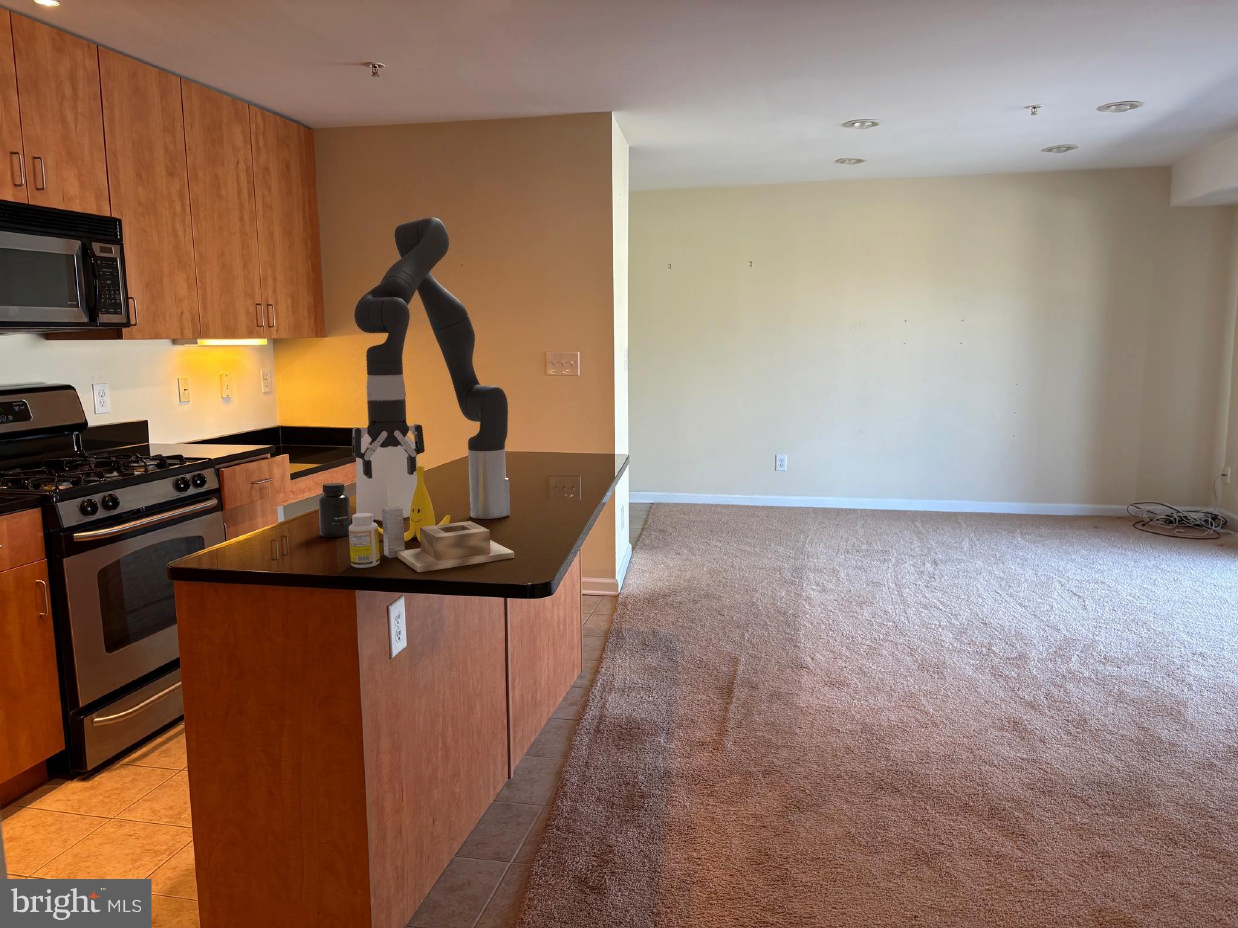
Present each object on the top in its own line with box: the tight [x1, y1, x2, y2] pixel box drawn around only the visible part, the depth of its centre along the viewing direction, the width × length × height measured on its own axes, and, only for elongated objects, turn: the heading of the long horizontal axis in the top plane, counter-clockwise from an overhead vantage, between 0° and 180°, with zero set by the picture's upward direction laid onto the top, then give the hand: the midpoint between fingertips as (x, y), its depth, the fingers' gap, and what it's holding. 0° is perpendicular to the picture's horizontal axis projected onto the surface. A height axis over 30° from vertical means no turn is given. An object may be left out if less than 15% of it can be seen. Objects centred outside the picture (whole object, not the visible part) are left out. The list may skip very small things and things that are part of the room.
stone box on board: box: [396, 520, 515, 573], centre depth 170 cm, size 20×14×6 cm
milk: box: [355, 433, 419, 522], centre depth 213 cm, size 12×12×26 cm
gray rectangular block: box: [382, 506, 406, 559], centre depth 172 cm, size 3×3×10 cm
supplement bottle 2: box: [348, 513, 381, 569], centre depth 165 cm, size 6×6×10 cm
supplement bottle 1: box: [318, 482, 352, 539], centre depth 192 cm, size 7×7×12 cm
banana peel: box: [378, 465, 452, 543], centre depth 190 cm, size 16×19×17 cm
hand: (390, 476), depth 171 cm, fingers open, 8 cm apart
